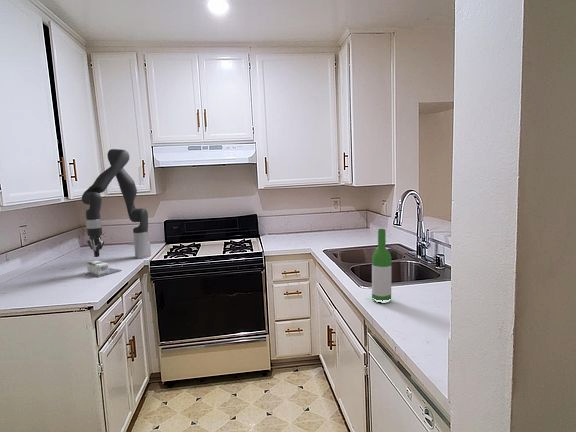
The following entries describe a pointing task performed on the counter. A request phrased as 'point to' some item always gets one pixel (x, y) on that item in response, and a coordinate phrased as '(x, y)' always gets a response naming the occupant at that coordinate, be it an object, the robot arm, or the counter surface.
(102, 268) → the syrup box
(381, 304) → the counter surface
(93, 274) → the mat
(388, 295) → the wine bottle
